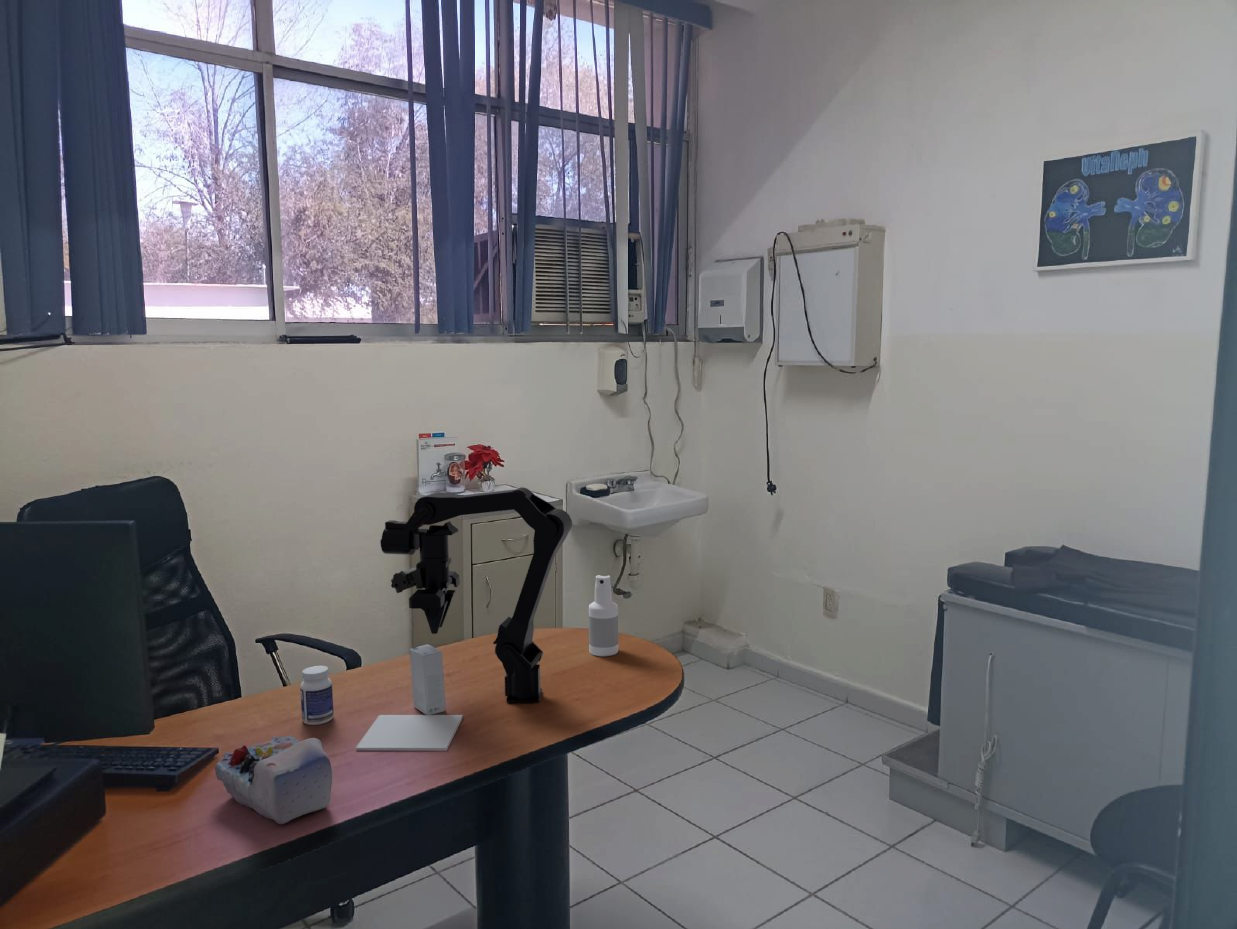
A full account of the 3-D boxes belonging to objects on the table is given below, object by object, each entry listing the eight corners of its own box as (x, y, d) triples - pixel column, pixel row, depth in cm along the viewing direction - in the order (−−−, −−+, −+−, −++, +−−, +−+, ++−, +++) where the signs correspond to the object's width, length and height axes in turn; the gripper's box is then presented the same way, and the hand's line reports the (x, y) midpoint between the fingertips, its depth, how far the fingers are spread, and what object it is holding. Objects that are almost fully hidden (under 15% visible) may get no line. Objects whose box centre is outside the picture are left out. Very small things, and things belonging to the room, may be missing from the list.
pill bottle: (340, 716, 167) (337, 666, 166) (318, 728, 162) (315, 676, 160) (317, 711, 169) (314, 662, 168) (295, 723, 164) (292, 672, 163)
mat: (462, 717, 166) (462, 715, 166) (446, 750, 152) (446, 747, 152) (379, 717, 166) (379, 715, 166) (355, 750, 152) (355, 747, 152)
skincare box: (446, 711, 169) (444, 650, 167) (425, 717, 166) (423, 656, 165) (431, 701, 174) (429, 643, 172) (411, 707, 171) (408, 647, 169)
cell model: (269, 768, 123) (204, 733, 136) (275, 840, 124) (209, 798, 137) (349, 736, 133) (281, 706, 146) (354, 803, 134) (286, 768, 147)
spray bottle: (586, 656, 199) (585, 579, 197) (592, 646, 206) (591, 572, 204) (615, 657, 198) (615, 580, 196) (620, 647, 205) (620, 573, 202)
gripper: (406, 545, 185) (409, 616, 187) (381, 566, 166) (384, 645, 168) (458, 545, 184) (461, 616, 186) (438, 566, 166) (441, 645, 168)
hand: (436, 630), depth 177 cm, fingers open, 4 cm apart
